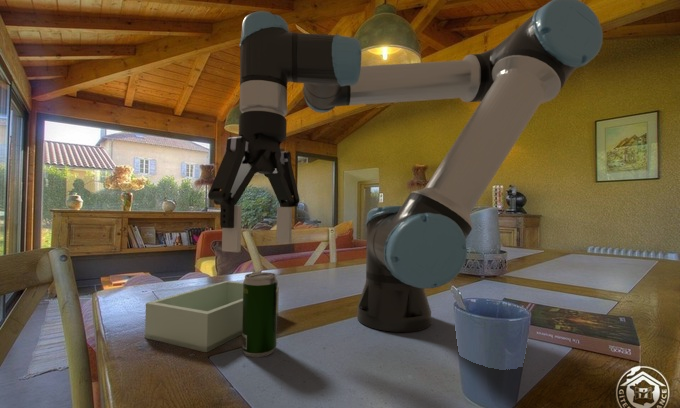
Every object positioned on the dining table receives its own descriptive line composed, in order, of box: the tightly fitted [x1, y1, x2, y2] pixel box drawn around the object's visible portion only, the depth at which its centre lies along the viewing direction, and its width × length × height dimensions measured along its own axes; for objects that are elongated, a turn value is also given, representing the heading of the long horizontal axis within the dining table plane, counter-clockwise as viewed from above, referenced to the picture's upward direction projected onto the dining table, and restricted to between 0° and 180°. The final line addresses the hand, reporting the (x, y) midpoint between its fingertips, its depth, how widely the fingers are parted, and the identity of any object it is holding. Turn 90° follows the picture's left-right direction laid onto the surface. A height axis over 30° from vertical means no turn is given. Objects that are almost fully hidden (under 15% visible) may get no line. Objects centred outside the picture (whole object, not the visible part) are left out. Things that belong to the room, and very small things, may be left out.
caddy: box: [144, 280, 280, 353], centre depth 63 cm, size 14×20×6 cm
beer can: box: [241, 271, 279, 358], centre depth 52 cm, size 5×5×12 cm
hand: (260, 247), depth 53 cm, fingers open, 13 cm apart
